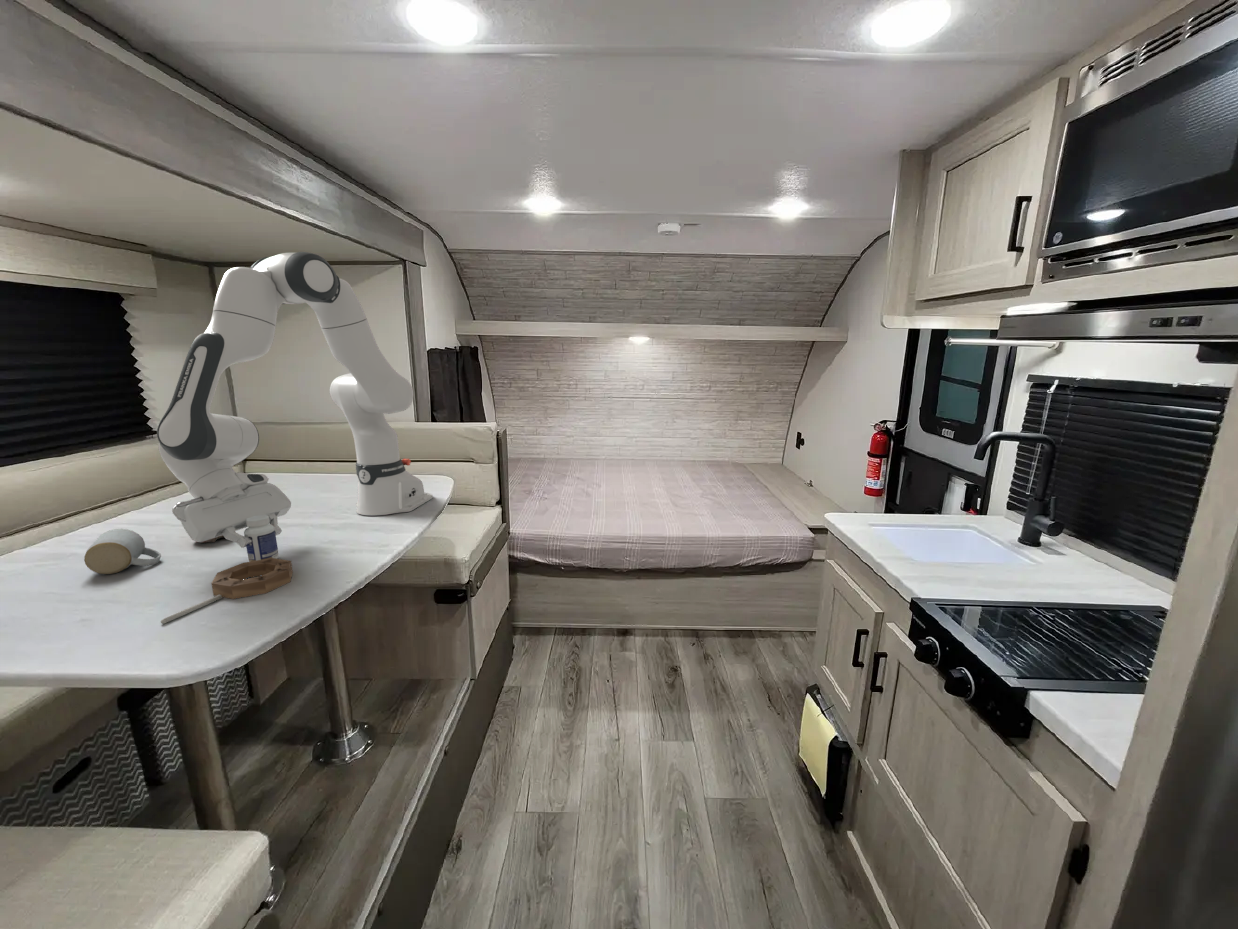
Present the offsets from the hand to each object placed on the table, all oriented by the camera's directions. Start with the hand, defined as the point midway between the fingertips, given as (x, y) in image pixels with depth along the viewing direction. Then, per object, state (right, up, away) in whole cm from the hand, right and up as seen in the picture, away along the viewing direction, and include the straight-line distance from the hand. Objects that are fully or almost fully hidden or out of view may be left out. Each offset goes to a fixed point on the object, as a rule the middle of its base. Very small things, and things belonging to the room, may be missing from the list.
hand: (263, 539), depth 106 cm
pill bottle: (-1, -5, +1) cm, 5 cm away
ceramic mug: (-27, -6, -2) cm, 28 cm away
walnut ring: (+5, -7, -10) cm, 13 cm away
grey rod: (+2, -9, -20) cm, 22 cm away
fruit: (-22, -2, +14) cm, 26 cm away
